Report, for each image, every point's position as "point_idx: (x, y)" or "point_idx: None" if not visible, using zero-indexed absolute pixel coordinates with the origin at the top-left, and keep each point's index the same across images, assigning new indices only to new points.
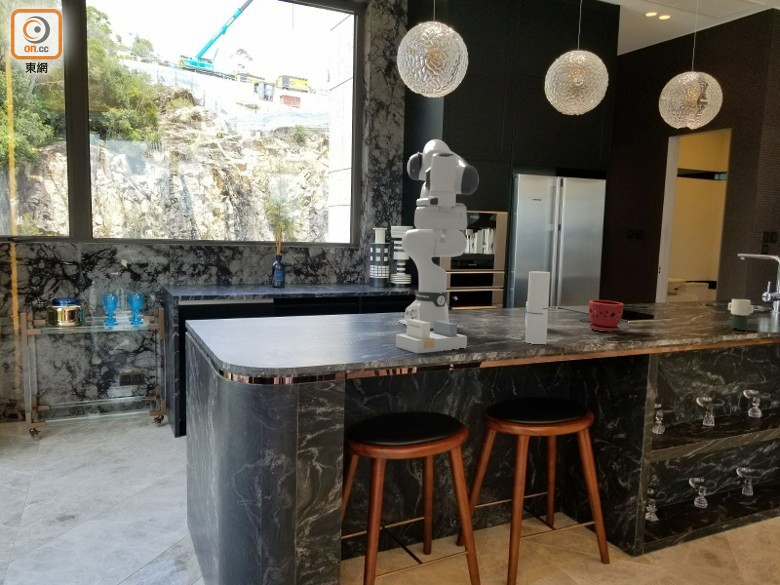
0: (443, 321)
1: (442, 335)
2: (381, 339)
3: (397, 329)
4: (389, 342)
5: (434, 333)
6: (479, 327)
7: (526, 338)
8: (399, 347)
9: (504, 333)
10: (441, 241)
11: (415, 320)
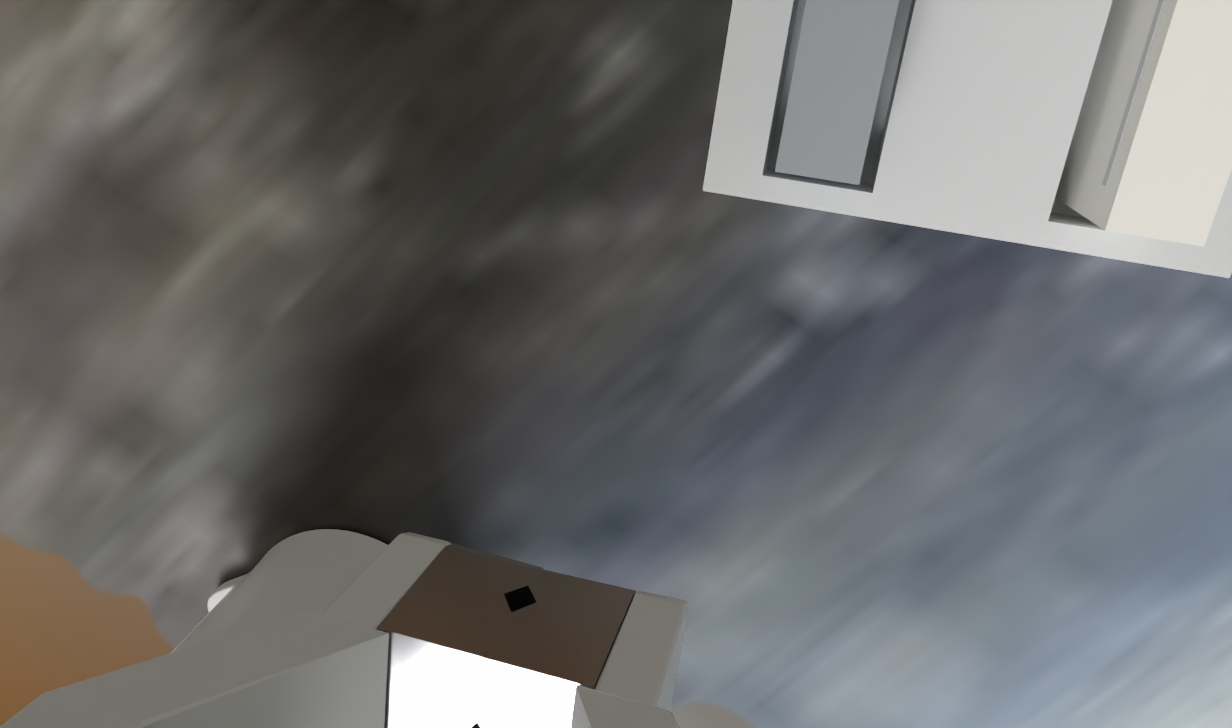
0: (812, 104)
1: (912, 17)
2: (1027, 523)
3: None
4: (1078, 409)
5: (888, 134)
6: (101, 426)
7: None
8: None
9: (95, 174)
10: (574, 584)
11: (1181, 156)
